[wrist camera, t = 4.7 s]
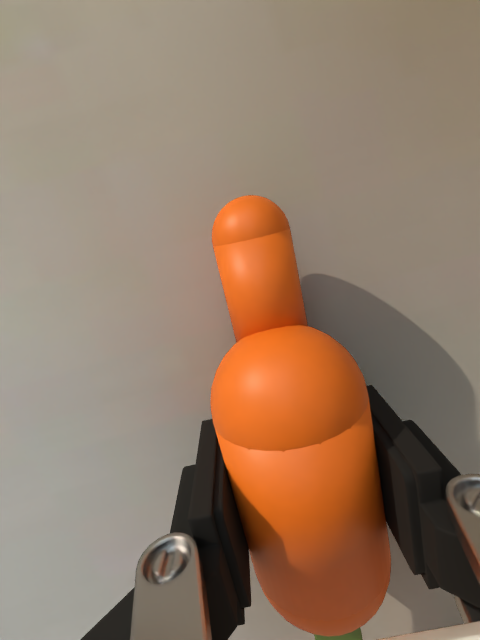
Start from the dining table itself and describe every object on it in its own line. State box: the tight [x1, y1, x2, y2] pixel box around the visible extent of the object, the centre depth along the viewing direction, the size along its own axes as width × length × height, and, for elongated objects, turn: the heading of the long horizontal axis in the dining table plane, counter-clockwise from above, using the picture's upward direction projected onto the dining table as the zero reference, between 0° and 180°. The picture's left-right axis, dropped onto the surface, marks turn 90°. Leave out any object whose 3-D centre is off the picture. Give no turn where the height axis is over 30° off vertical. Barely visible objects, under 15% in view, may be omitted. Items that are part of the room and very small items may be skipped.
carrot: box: [211, 195, 391, 640], centre depth 10 cm, size 14×4×4 cm, turn 13°
